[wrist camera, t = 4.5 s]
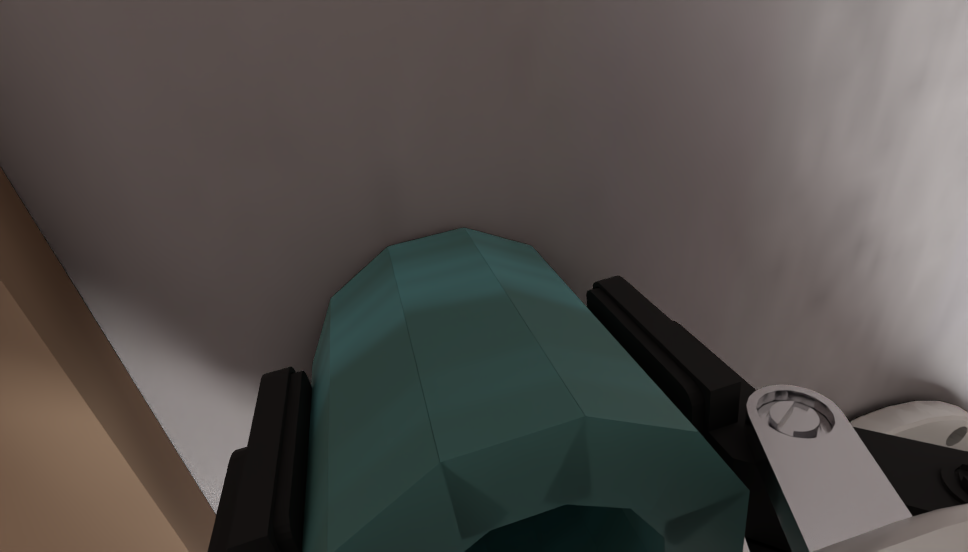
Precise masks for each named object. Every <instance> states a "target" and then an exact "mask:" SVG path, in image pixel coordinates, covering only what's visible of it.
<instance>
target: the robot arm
mask: <svg viewBox="0 0 968 552" xmlns="http://www.w3.org/2000/svg"><path fill="white" fill-rule="evenodd" d="M587 308H588V309H589V310H590V311H591V312H592V314H593V315H594V316H595V317H596V318H597V319H598V320H599V321H600V322H601V324H602V325H603V326H604V327H605V328H606V329H607V330H608V331H609V332H610V334H611V335H612V336H613V337H614V338H615V339H616V340H617V341H618V342H619V344H620V345H621V346H622V347H623V348H624V349H625V350H626V351H627V352H628V354H629V355H630V356H631V357H632V358H633V359H634V360H635V361H636V362H637V364H638V365H639V366H640V367H641V368H642V369H643V370H644V371H645V372H646V374H647V375H648V376H649V377H650V378H651V379H652V380H653V381H654V382H655V384H656V385H657V386H658V387H659V388H660V389H661V390H662V391H663V392H664V394H665V395H666V396H667V397H668V398H669V399H670V400H671V401H672V402H673V404H674V405H675V406H676V407H677V408H678V409H679V410H680V411H681V413H682V414H683V415H684V416H685V417H686V418H687V419H688V420H689V421H690V423H691V424H692V425H693V426H694V427H695V428H696V429H697V430H698V431H699V433H700V434H701V435H702V436H703V437H704V438H705V439H706V441H707V442H708V443H709V444H710V445H711V446H712V448H713V449H714V450H715V451H716V452H717V453H718V455H719V456H720V457H721V458H722V459H723V460H724V462H725V463H726V464H727V465H728V466H729V467H730V468H731V470H732V471H733V472H734V473H735V474H736V475H737V477H738V478H739V479H740V480H741V481H742V482H743V484H744V485H745V486H746V487H747V488H748V489H749V490H750V492H749V501H748V510H747V519H746V528H745V537H744V545H743V552H968V412H966V411H965V410H963V409H961V408H960V407H958V406H956V405H952V404H949V403H945V402H942V401H913V402H908V403H903V404H898V405H893V406H888V407H885V408H882V409H879V410H877V411H874V412H871V413H869V414H866V415H863V416H860V417H858V418H856V419H854V420H852V421H850V422H849V421H848V419H847V418H846V416H845V415H844V413H843V412H842V411H841V410H840V408H839V407H838V406H837V405H836V404H835V403H834V402H833V401H831V400H830V399H828V398H827V397H825V396H824V395H822V394H820V393H817V392H815V391H813V390H810V389H808V388H803V387H799V386H795V385H782V384H777V385H770V386H765V387H763V388H760V389H758V390H755V389H754V388H753V387H752V386H751V385H750V384H748V383H747V382H746V381H745V380H744V379H743V378H741V377H740V376H739V375H738V374H737V373H736V372H734V371H733V370H732V369H731V368H730V367H729V366H727V365H726V364H725V363H724V362H723V361H722V360H721V359H719V358H718V357H717V356H716V355H715V354H714V353H712V352H711V351H710V350H709V349H708V348H707V347H705V346H704V345H703V344H702V343H701V342H700V341H699V340H697V339H696V338H695V337H694V336H693V335H692V334H690V333H689V332H688V331H687V330H686V329H685V328H683V327H682V326H681V325H680V324H678V323H677V322H675V321H672V320H670V319H669V318H668V317H667V316H666V315H665V314H664V313H662V312H661V311H660V310H659V309H658V308H657V307H656V306H654V305H653V304H652V303H651V302H650V301H649V300H648V299H646V298H645V297H644V296H643V295H642V294H641V293H640V292H638V291H637V290H636V289H635V288H634V287H633V286H632V285H630V284H629V283H628V282H627V281H626V280H625V279H623V278H622V277H621V276H615V277H611V278H608V279H604V280H600V281H597V282H595V283H594V284H593V289H592V290H588V291H587ZM311 397H312V387H311V384H310V382H309V379H308V377H307V375H306V373H305V371H300V372H295V370H294V368H293V367H288V368H284V369H281V370H277V371H274V372H270V373H266V374H264V375H262V378H261V383H260V387H259V392H258V397H257V402H256V407H255V412H254V416H253V421H252V426H251V431H250V436H249V441H248V445H247V447H245V448H241V449H238V450H235V451H234V452H233V453H232V455H231V458H230V460H229V465H228V469H227V473H226V477H225V481H224V485H223V489H222V494H221V498H220V502H219V506H218V510H217V514H216V518H215V523H214V527H213V531H212V535H211V539H210V543H209V547H208V552H302V541H303V525H304V509H305V493H306V477H307V461H308V445H309V429H310V413H311Z"/></svg>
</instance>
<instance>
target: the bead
mask: <svg viewBox="0 0 968 552" xmlns="http://www.w3.org/2000/svg"><path fill="white" fill-rule="evenodd" d="M311 387H312V397H311V413H310V429H309V445H308V461H307V477H306V493H305V509H304V525H303V541H302V552H743V545H744V537H745V528H746V519H747V510H748V501H749V492H750V490H749V489H748V488H747V487H746V486H745V485H744V484H743V482H742V481H741V480H740V479H739V478H738V477H737V475H736V474H735V473H734V472H733V471H732V470H731V468H730V467H729V466H728V465H727V464H726V463H725V462H724V460H723V459H722V458H721V457H720V456H719V455H718V453H717V452H716V451H715V450H714V449H713V448H712V446H711V445H710V444H709V443H708V442H707V441H706V439H705V438H704V437H703V436H702V435H701V434H700V433H699V431H698V430H697V429H696V428H695V427H694V426H693V425H692V424H691V423H690V421H689V420H688V419H687V418H686V417H685V416H684V415H683V414H682V413H681V411H680V410H679V409H678V408H677V407H676V406H675V405H674V404H673V402H672V401H671V400H670V399H669V398H668V397H667V396H666V395H665V394H664V392H663V391H662V390H661V389H660V388H659V387H658V386H657V385H656V384H655V382H654V381H653V380H652V379H651V378H650V377H649V376H648V375H647V374H646V372H645V371H644V370H643V369H642V368H641V367H640V366H639V365H638V364H637V362H636V361H635V360H634V359H633V358H632V357H631V356H630V355H629V354H628V352H627V351H626V350H625V349H624V348H623V347H622V346H621V345H620V344H619V342H618V341H617V340H616V339H615V338H614V337H613V336H612V335H611V334H610V332H609V331H608V330H607V329H606V328H605V327H604V326H603V325H602V324H601V322H600V321H599V320H598V319H597V318H596V317H595V316H594V315H593V314H592V312H591V311H590V310H589V309H588V308H587V307H586V306H585V305H584V304H583V302H582V301H581V300H580V299H579V298H578V297H577V296H576V295H575V294H574V292H573V291H572V290H571V289H570V288H569V287H568V286H567V285H566V284H565V282H564V281H563V280H562V279H561V278H560V277H559V276H558V275H557V273H556V272H555V271H554V270H553V269H552V268H551V267H550V266H549V265H548V263H547V262H546V261H545V260H544V259H543V258H542V257H541V256H540V255H539V253H538V252H537V251H536V250H535V249H534V248H533V247H532V246H531V245H527V244H523V243H520V242H516V241H512V240H509V239H505V238H501V237H498V236H494V235H490V234H486V233H483V232H479V231H475V230H472V229H468V228H464V227H463V228H459V229H455V230H451V231H447V232H443V233H440V234H436V235H432V236H428V237H424V238H420V239H416V240H412V241H408V242H404V243H400V244H396V245H392V246H388V247H387V248H385V249H384V250H383V251H382V252H381V253H380V254H379V255H378V256H377V257H376V258H374V259H373V260H372V261H371V262H370V263H369V264H368V265H367V266H366V267H365V268H363V269H362V270H361V271H360V272H359V273H358V274H357V275H356V276H355V277H354V278H352V279H351V280H350V281H349V282H348V283H347V284H346V285H345V286H344V287H343V288H341V289H340V290H339V291H338V292H337V293H336V294H335V295H334V296H333V297H332V298H331V299H330V303H329V306H328V310H327V314H326V317H325V321H324V324H323V328H322V331H321V335H320V339H319V342H318V346H317V349H316V353H315V356H314V360H313V366H312V381H311Z"/></svg>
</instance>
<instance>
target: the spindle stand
mask: <svg viewBox="0 0 968 552" xmlns="http://www.w3.org/2000/svg"><path fill="white" fill-rule="evenodd" d="M215 518H216V515H215V513H214V511H213V510H212V508H211V507H210V505H209V503H208V502H207V500H206V498H205V497H204V495H203V494H202V492H201V490H200V489H199V487H198V486H197V484H196V482H195V481H194V479H193V477H192V476H191V474H190V473H189V471H188V469H187V468H186V466H185V465H184V463H183V461H182V460H181V458H180V456H179V455H178V453H177V452H176V450H175V448H174V447H173V445H172V444H171V442H170V440H169V439H168V437H167V435H166V434H165V432H164V431H163V429H162V427H161V426H160V424H159V423H158V421H157V419H156V418H155V416H154V414H153V413H152V411H151V410H150V408H149V406H148V405H147V403H146V402H145V400H144V398H143V397H142V395H141V393H140V392H139V390H138V389H137V387H136V385H135V384H134V382H133V381H132V379H131V377H130V376H129V374H128V372H127V371H126V369H125V368H124V366H123V364H122V363H121V361H120V360H119V358H118V356H117V355H116V353H115V351H114V350H113V348H112V347H111V345H110V343H109V342H108V340H107V339H106V337H105V335H104V334H103V332H102V330H101V329H100V327H99V326H98V324H97V322H96V321H95V319H94V318H93V316H92V314H91V313H90V311H89V309H88V308H87V306H86V305H85V303H84V301H83V300H82V298H81V297H80V295H79V293H78V292H77V290H76V288H75V287H74V285H73V284H72V282H71V280H70V279H69V277H68V276H67V274H66V272H65V271H64V269H63V267H62V266H61V264H60V263H59V261H58V259H57V258H56V256H55V255H54V253H53V251H52V250H51V248H50V246H49V245H48V243H47V242H46V240H45V238H44V237H43V235H42V234H41V232H40V230H39V229H38V227H37V225H36V224H35V222H34V221H33V219H32V217H31V216H30V214H29V213H28V211H27V209H26V208H25V206H24V204H23V203H22V201H21V200H20V198H19V196H18V195H17V193H16V191H15V190H14V188H13V187H12V185H11V183H10V182H9V180H8V179H7V177H6V175H5V174H4V172H3V170H2V169H1V167H0V552H208V547H209V543H210V539H211V535H212V531H213V527H214V523H215Z"/></svg>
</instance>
